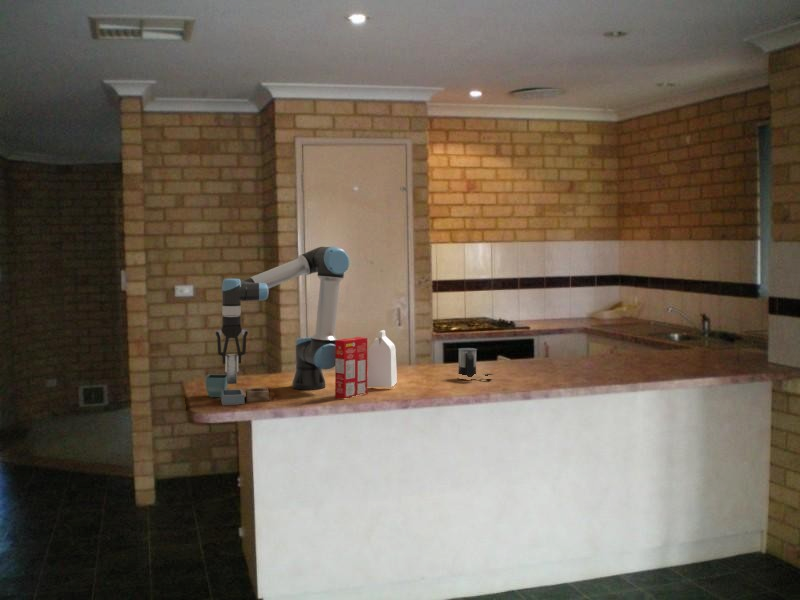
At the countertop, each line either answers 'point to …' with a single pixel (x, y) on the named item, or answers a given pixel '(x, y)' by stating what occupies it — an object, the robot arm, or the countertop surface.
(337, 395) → the food packaging
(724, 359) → the countertop surface
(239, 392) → the tray
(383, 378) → the milk
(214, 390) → the flower pot
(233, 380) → the steel pin
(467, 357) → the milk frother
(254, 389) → the socket block
